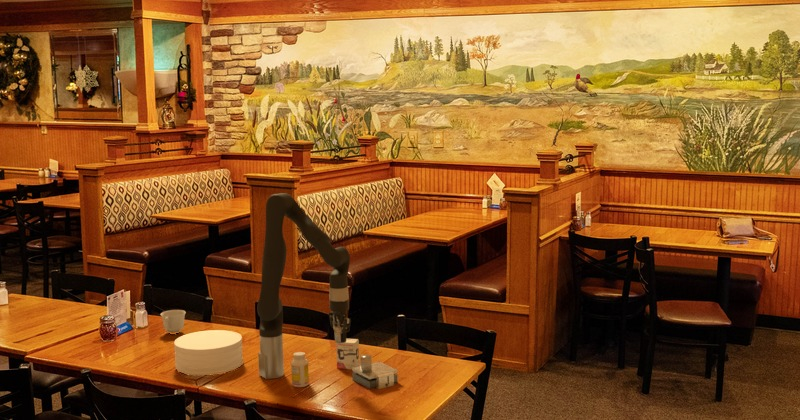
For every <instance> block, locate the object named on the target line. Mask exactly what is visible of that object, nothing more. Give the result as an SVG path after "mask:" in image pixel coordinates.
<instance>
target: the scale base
mask: <svg viewBox="0 0 800 420" xmlns="http://www.w3.org/2000/svg"><path fill="white" fill-rule="evenodd" d="M351 373H352V374H351V375H352V381H353V382H355V383H358V384H360V385H361V386H363V387H365V388H367V389H368V390H373V389H378V390H380V389H386V388H389V387H394V386H395V384H397V383H398V382H399V381H398V374H397V373H393V372H388V373H384V374H380V375H376V378H373V379H368V378H366V377H364V376H362V375H360V374H358V373H356V372H354V371H353V372H351Z"/></svg>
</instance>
